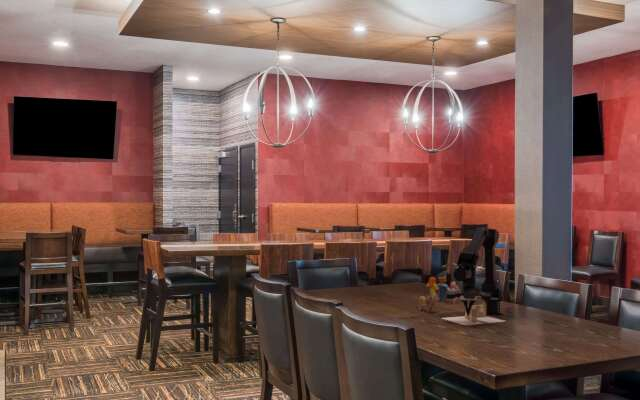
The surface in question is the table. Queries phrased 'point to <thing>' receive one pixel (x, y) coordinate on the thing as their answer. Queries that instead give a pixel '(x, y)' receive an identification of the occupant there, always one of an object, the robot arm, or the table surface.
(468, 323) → the board
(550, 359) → the table surface
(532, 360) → the table surface
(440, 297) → the doll family
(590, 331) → the table surface
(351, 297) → the table surface
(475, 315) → the brown tall flat block
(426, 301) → the lion figurine
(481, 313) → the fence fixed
